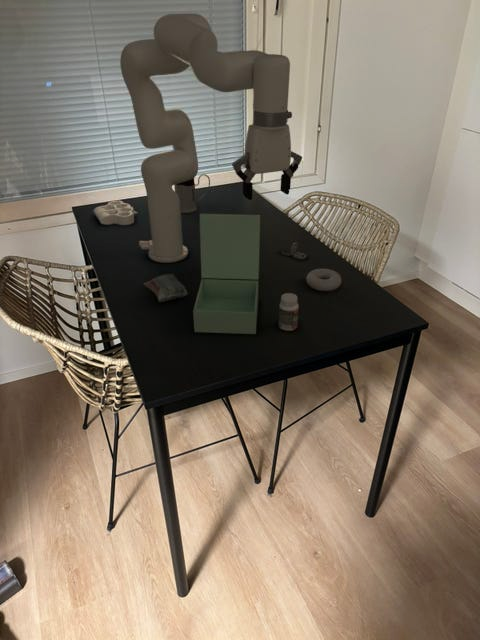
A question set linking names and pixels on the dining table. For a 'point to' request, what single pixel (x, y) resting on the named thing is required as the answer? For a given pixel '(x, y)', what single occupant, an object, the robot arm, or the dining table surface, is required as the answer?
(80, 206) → the dining table surface
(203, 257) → the lunchbox lid
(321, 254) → the dining table surface
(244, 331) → the box
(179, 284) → the packaged food
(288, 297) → the pill bottle
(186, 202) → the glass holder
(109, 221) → the beige paint palette tray
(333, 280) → the donut
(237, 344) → the dining table surface
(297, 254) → the strap clip
